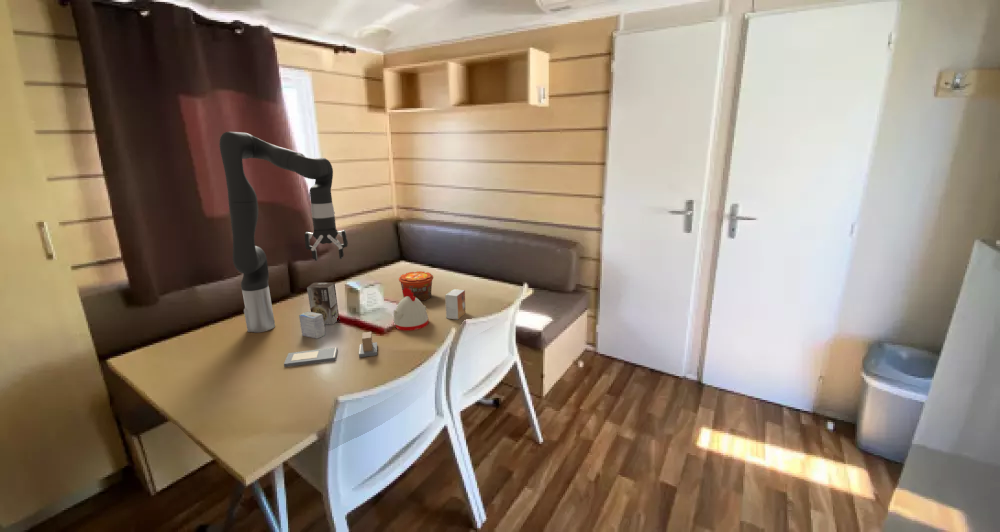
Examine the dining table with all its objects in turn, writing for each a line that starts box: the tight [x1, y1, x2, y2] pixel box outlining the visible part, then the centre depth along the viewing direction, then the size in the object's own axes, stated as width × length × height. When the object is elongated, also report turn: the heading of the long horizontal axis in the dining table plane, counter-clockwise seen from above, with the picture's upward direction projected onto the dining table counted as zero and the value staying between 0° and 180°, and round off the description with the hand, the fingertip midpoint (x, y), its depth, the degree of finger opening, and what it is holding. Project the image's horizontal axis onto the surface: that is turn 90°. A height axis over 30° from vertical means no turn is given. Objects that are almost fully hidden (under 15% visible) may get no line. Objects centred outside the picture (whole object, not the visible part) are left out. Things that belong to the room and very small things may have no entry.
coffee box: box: [306, 282, 340, 325], centre depth 180 cm, size 9×6×16 cm
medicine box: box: [298, 311, 326, 340], centre depth 168 cm, size 8×4×9 cm, turn 65°
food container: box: [398, 270, 434, 302], centre depth 207 cm, size 16×16×11 cm
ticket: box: [283, 346, 338, 368], centre depth 151 cm, size 16×8×1 cm, turn 105°
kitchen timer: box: [393, 288, 429, 331], centre depth 177 cm, size 14×14×15 cm
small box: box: [444, 288, 466, 320], centre depth 185 cm, size 8×6×10 cm
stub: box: [358, 331, 378, 358], centre depth 155 cm, size 6×8×6 cm
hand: (328, 259), depth 161 cm, fingers open, 8 cm apart
